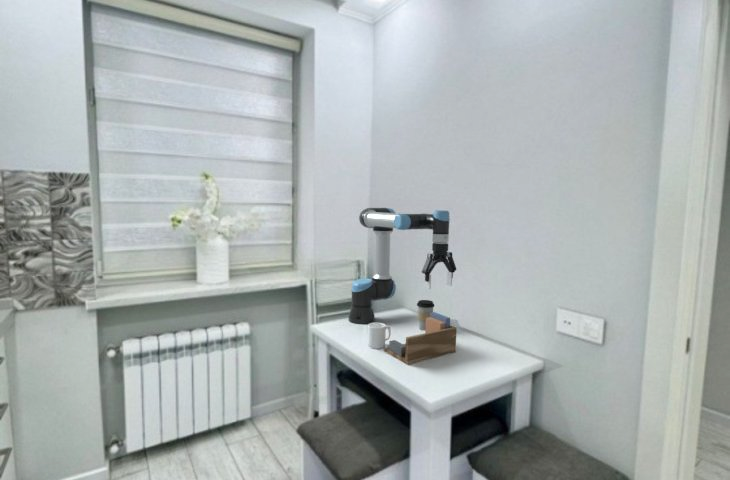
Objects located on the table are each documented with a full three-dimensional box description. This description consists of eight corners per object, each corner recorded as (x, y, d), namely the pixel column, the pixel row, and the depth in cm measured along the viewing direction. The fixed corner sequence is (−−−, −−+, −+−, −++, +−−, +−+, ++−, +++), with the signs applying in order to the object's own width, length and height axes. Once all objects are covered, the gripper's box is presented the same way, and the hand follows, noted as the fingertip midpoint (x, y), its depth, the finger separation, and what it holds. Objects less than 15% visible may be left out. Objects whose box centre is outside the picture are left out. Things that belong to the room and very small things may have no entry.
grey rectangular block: (389, 349, 176) (389, 341, 175) (394, 348, 177) (394, 340, 177) (401, 356, 168) (401, 347, 168) (406, 355, 170) (407, 346, 169)
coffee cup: (433, 326, 215) (433, 299, 214) (434, 332, 206) (435, 304, 204) (415, 325, 216) (416, 299, 215) (416, 331, 207) (417, 303, 205)
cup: (364, 344, 186) (364, 323, 186) (385, 340, 192) (386, 320, 191) (373, 350, 179) (373, 328, 178) (395, 345, 185) (395, 325, 184)
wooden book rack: (384, 351, 178) (384, 326, 177) (430, 340, 193) (431, 318, 192) (407, 364, 164) (408, 338, 163) (455, 352, 179) (456, 327, 178)
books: (424, 342, 187) (425, 313, 185) (433, 340, 190) (434, 312, 188) (440, 349, 177) (441, 319, 176) (449, 347, 180) (450, 317, 179)
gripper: (425, 244, 176) (424, 290, 178) (464, 242, 189) (463, 285, 191) (415, 243, 182) (413, 287, 184) (453, 241, 195) (452, 282, 197)
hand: (438, 286), depth 188 cm, fingers open, 13 cm apart
